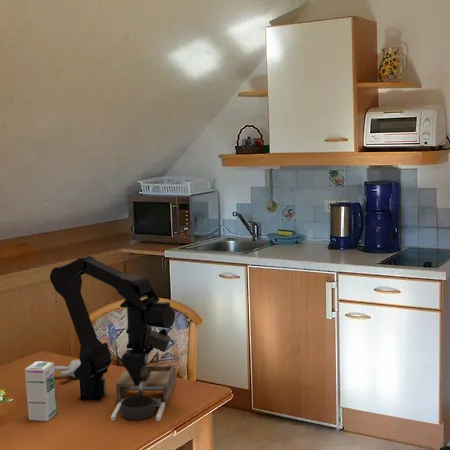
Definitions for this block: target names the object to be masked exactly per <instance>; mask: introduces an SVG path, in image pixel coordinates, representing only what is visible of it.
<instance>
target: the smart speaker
mask: <svg viewBox="0 0 450 450" xmlns="http://www.w3.org/2000/svg"><path fill="white" fill-rule="evenodd" d="M125 398H126V399H125V400H123V401H122V403H121V409H120V413H121V416H122V417H123V418H124V419H126V420H131V421H142V420H146V419H149V418H150V417H152V416H153V415H154V414H155V407H154V400H153V399H152V398H153V397H150V396H146V395H143V396H139V395H132V396H129V397H125Z"/></svg>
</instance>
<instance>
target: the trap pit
mask: <svg viewBox="0 0 450 450" xmlns="http://www.w3.org/2000/svg"><path fill="white" fill-rule="evenodd" d="M146 382H147V381H143V391H163V387H146ZM128 391H139V387H138V386H137V387H129V389H128Z"/></svg>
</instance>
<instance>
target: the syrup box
mask: <svg viewBox="0 0 450 450" xmlns="http://www.w3.org/2000/svg"><path fill="white" fill-rule="evenodd" d="M54 367H55V363H54V362H53V361H40V360H39V361H37V360H36V361H34V362H32V364H30V365H28V366H27V367H26V368H25V369H24V372H25V387H26V388H25V389H26V400H27V410H28V411H27V413H28V419H29V421H38V422H39V421H40V422H49V421H50V420H51V419H52V418H53V417H55V415H56V414H57V413H59V412H58V402H57V399H58V398H57V388H56V373H55V370H54Z"/></svg>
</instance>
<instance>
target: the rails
mask: <svg viewBox="0 0 450 450" xmlns="http://www.w3.org/2000/svg"><path fill="white" fill-rule="evenodd" d="M165 407H166V406H165V402H163V401H161V405H160V407H158V411H157V414H156V416H155V420H156V421H158V422H159V421H161V419H162V416H163V413H164V411H165ZM120 412H121V402H118V404H117V403H116V406H115V409H114V410H113V412H112V414H111V416H110V420H111V421H116V419H117V417H118V415H119V413H120Z"/></svg>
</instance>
